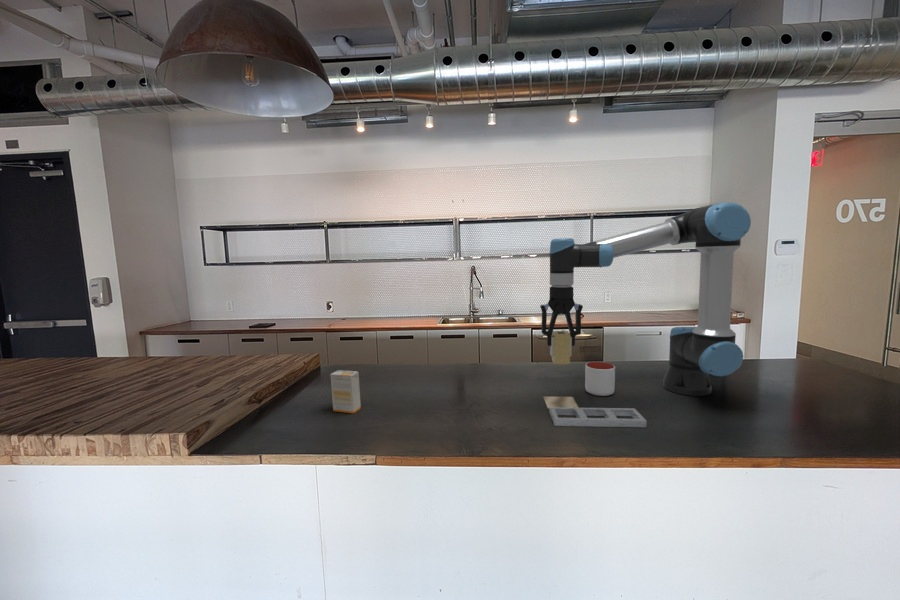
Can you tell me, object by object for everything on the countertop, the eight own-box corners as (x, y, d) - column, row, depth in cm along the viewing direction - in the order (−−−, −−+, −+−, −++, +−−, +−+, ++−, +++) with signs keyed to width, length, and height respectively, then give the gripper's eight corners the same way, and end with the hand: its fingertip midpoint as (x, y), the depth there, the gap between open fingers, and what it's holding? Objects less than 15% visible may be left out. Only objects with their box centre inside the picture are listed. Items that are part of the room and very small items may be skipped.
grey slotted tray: (634, 414, 119) (634, 408, 118) (646, 427, 110) (646, 420, 109) (549, 413, 121) (549, 407, 121) (554, 425, 112) (554, 419, 112)
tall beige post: (566, 359, 130) (567, 330, 128) (569, 364, 125) (570, 333, 123) (551, 359, 130) (552, 330, 129) (554, 363, 125) (554, 333, 124)
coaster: (572, 397, 133) (572, 396, 133) (579, 409, 124) (579, 408, 123) (543, 397, 134) (543, 396, 134) (547, 408, 125) (547, 407, 124)
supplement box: (361, 408, 129) (359, 371, 127) (353, 414, 124) (351, 375, 123) (340, 405, 132) (338, 369, 130) (332, 411, 127) (329, 373, 126)
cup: (617, 397, 132) (618, 370, 131) (587, 396, 134) (587, 369, 133) (611, 388, 142) (611, 362, 141) (583, 386, 144) (583, 361, 143)
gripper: (586, 284, 127) (585, 352, 130) (532, 285, 129) (531, 352, 132) (593, 286, 120) (591, 358, 122) (534, 287, 121) (534, 358, 124)
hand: (560, 355), depth 127 cm, fingers closed on tall beige post, 5 cm apart
